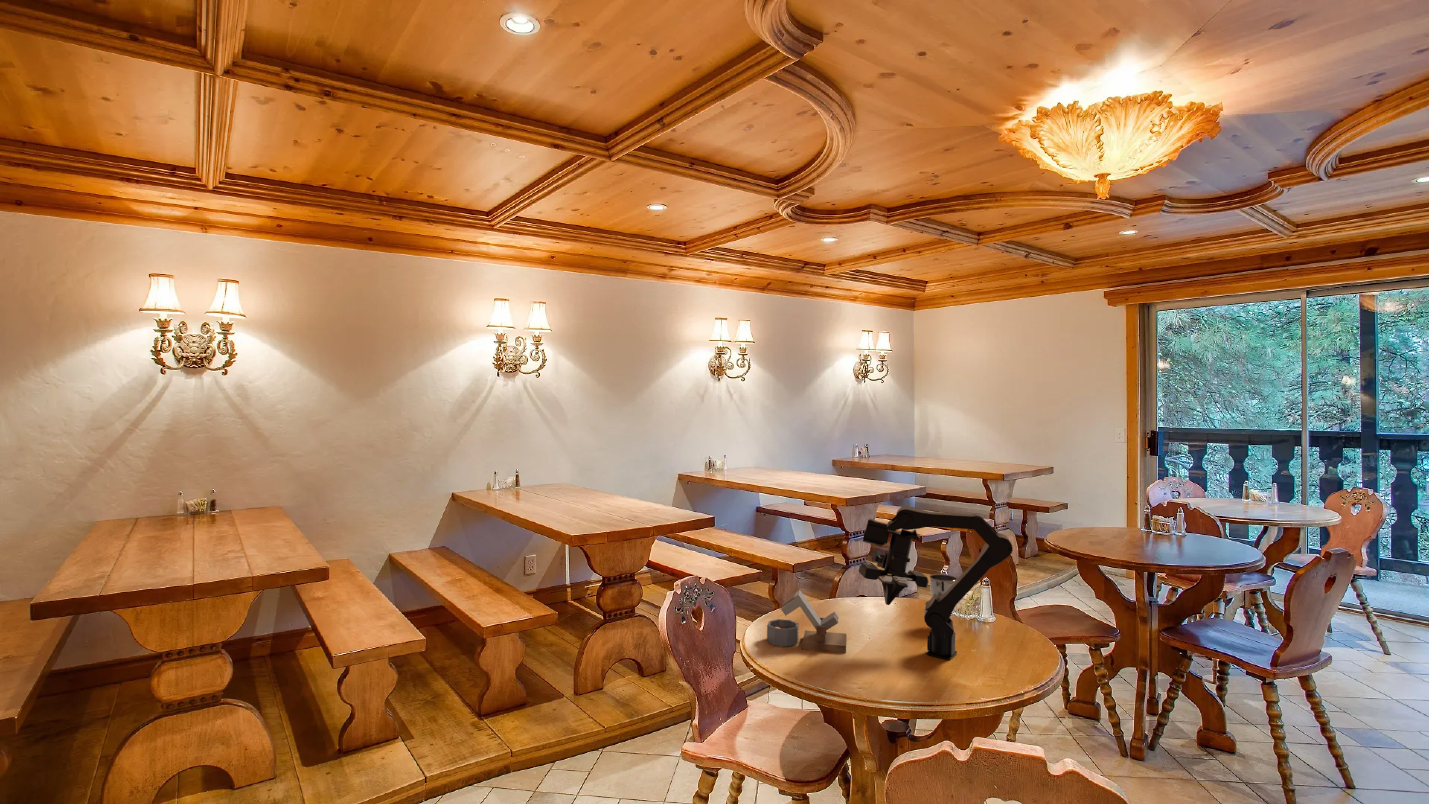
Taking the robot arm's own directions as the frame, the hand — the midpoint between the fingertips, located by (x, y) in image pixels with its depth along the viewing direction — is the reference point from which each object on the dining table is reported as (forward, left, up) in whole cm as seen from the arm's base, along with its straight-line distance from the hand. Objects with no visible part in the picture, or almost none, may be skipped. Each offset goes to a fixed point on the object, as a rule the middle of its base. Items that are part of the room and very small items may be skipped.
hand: (887, 604), depth 201 cm
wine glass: (-6, -29, -13) cm, 32 cm away
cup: (+26, +13, -12) cm, 32 cm away
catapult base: (+16, +9, -12) cm, 22 cm away
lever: (+16, +9, -9) cm, 20 cm away
